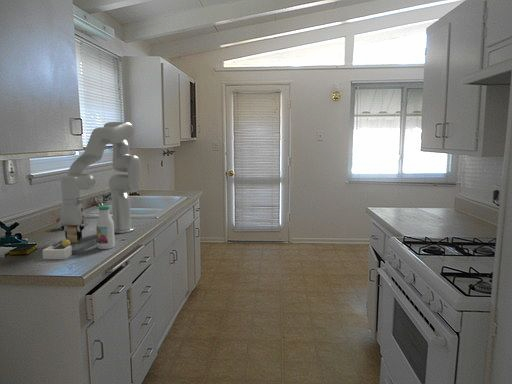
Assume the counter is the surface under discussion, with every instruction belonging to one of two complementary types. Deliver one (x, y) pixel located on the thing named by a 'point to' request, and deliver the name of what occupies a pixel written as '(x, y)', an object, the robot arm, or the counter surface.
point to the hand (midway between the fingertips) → (73, 238)
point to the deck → (78, 249)
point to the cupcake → (58, 222)
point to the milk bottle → (105, 229)
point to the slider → (72, 234)
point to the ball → (66, 243)
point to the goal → (57, 253)
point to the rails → (61, 244)
